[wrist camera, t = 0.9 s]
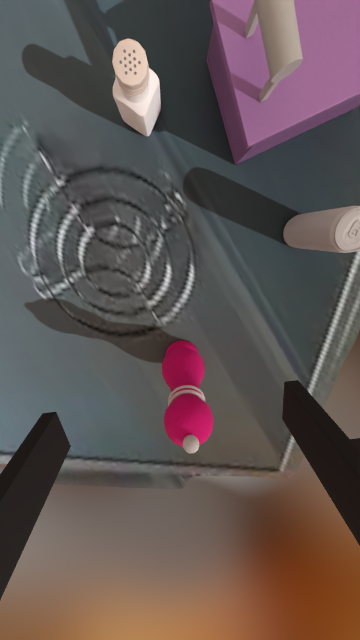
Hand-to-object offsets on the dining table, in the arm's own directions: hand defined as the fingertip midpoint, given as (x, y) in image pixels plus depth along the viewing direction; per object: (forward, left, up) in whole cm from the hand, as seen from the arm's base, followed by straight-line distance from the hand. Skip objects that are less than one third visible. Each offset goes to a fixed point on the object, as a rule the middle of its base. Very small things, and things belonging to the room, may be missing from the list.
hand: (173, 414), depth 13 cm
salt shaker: (-24, +6, -27) cm, 36 cm away
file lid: (-20, +24, -19) cm, 36 cm away
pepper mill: (+11, -3, -27) cm, 29 cm away
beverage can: (-2, +22, -27) cm, 35 cm away
